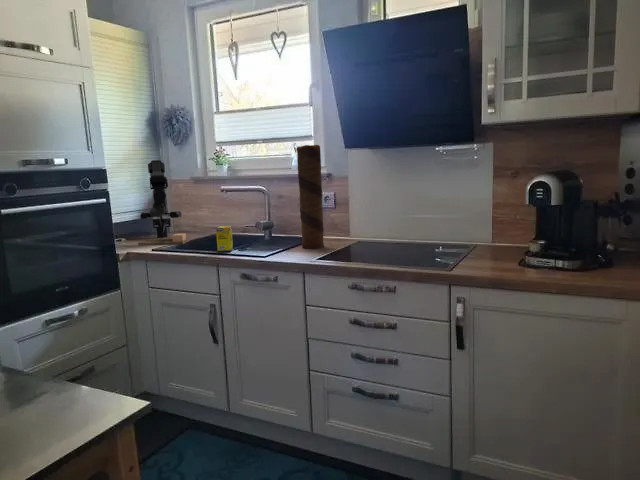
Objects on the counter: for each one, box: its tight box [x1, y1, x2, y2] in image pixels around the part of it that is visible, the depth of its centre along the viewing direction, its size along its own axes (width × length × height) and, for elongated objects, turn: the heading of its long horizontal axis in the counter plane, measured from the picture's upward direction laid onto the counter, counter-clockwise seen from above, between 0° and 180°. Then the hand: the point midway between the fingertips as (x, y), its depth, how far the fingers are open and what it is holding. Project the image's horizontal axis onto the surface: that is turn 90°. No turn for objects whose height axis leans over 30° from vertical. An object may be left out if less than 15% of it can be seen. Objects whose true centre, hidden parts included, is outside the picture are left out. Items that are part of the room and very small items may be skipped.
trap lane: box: [137, 237, 191, 247], centre depth 256 cm, size 12×22×2 cm, turn 87°
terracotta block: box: [171, 233, 187, 242], centre depth 255 cm, size 5×5×4 cm
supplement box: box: [215, 225, 234, 253], centre depth 230 cm, size 6×6×11 cm
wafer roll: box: [296, 144, 325, 249], centre depth 229 cm, size 10×11×45 cm
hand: (162, 232), depth 255 cm, fingers closed
